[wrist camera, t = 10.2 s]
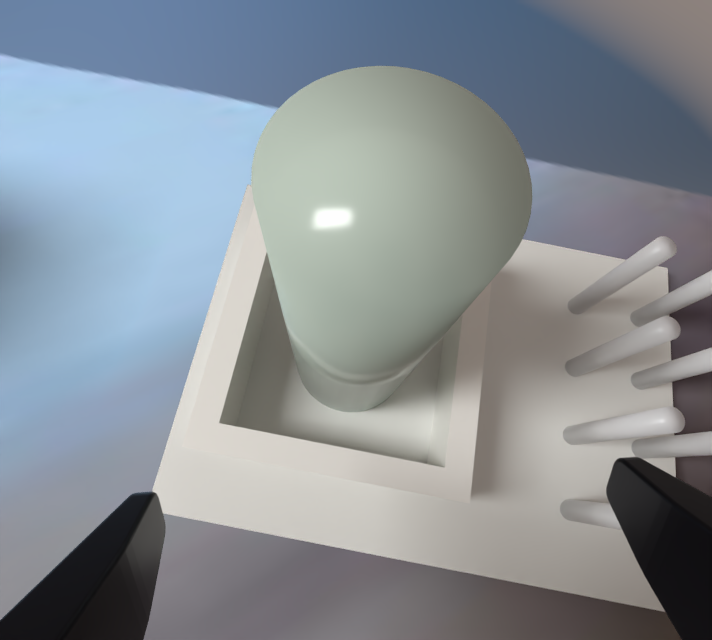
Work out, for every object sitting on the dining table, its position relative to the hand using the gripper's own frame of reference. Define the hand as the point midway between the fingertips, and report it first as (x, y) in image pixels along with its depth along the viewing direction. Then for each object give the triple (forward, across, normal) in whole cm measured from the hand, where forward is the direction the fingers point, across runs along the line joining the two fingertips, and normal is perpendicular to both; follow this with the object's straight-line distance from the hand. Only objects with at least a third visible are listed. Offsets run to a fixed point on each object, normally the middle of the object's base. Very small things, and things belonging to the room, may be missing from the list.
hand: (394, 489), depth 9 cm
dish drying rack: (+11, -4, +5) cm, 12 cm away
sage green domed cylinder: (+11, 0, +3) cm, 11 cm away
